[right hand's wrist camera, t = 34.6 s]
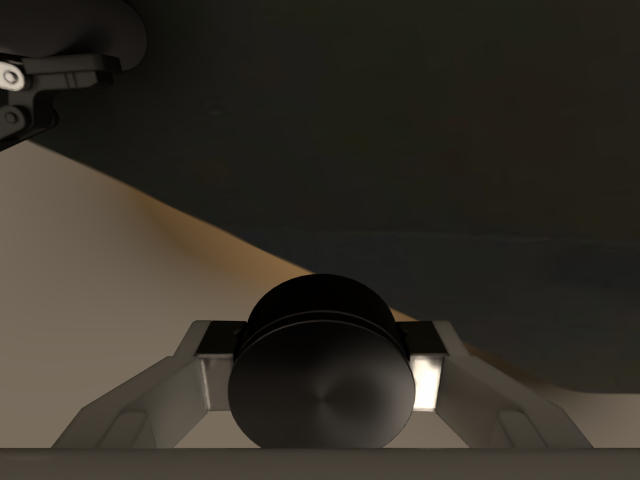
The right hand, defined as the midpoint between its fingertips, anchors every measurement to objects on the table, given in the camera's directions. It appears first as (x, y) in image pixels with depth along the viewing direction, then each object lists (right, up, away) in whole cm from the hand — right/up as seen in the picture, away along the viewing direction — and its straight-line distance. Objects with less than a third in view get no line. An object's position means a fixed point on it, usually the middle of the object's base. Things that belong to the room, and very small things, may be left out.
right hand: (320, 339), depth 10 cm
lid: (0, -1, -2) cm, 2 cm away
